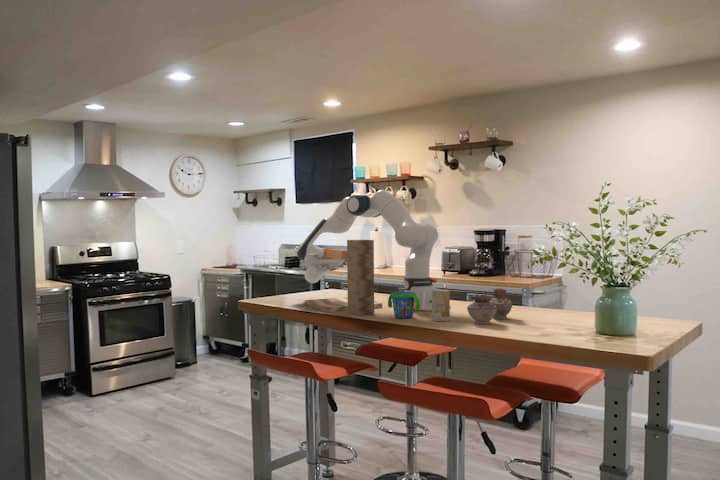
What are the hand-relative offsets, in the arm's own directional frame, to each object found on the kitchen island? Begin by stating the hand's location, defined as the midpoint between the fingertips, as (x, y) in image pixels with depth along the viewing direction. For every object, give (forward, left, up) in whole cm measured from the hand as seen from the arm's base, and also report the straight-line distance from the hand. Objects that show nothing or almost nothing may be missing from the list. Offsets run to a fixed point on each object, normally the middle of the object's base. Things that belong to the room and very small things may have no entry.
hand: (329, 252), depth 268 cm
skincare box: (-22, +61, -26) cm, 70 cm away
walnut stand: (-2, +29, -26) cm, 39 cm away
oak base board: (-4, +5, -26) cm, 26 cm away
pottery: (-39, +71, -26) cm, 85 cm away
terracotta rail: (0, +7, -2) cm, 8 cm away
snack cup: (-13, +47, -26) cm, 55 cm away
